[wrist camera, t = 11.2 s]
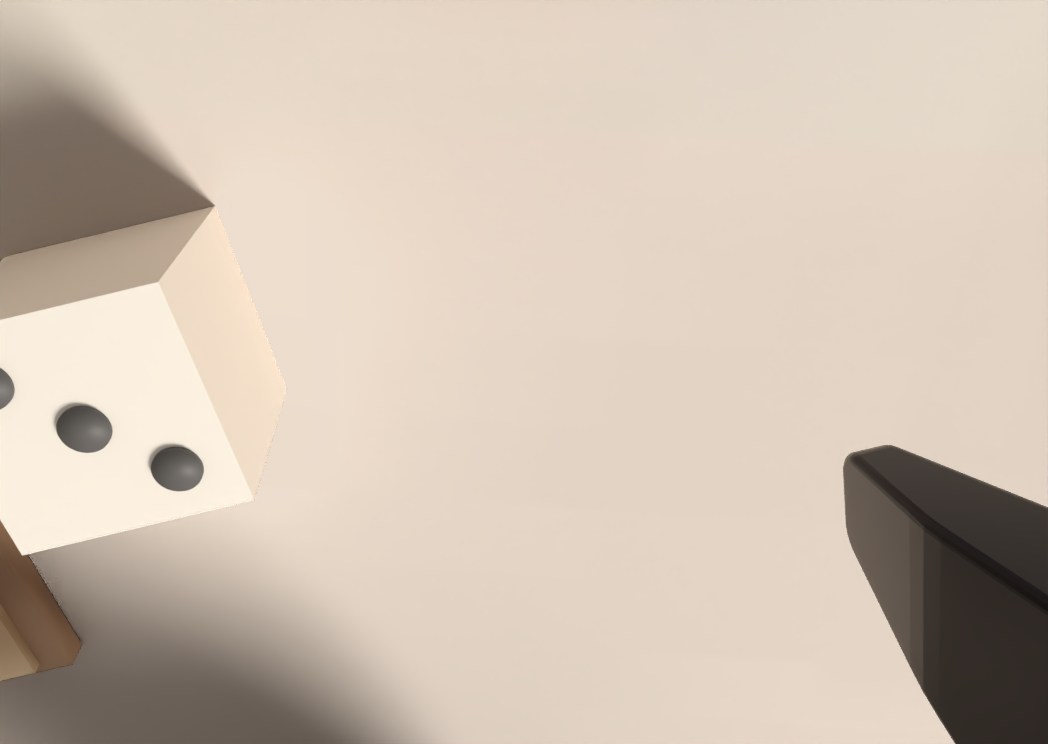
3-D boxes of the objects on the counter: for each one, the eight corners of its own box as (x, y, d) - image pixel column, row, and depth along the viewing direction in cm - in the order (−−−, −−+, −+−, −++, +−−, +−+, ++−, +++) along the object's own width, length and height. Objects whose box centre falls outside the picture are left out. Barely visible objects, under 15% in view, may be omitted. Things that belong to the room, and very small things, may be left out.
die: (287, 388, 21) (253, 503, 16) (100, 433, 21) (20, 559, 16) (215, 204, 18) (156, 284, 14) (7, 255, 18) (-111, 348, 14)
